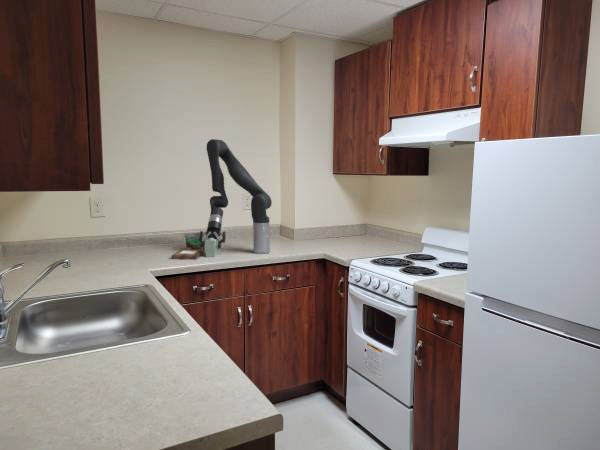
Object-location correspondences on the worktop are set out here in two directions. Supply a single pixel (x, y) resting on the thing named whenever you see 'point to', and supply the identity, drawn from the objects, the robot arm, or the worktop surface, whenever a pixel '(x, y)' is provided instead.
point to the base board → (188, 254)
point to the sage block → (211, 247)
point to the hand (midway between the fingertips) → (210, 248)
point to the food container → (193, 241)
